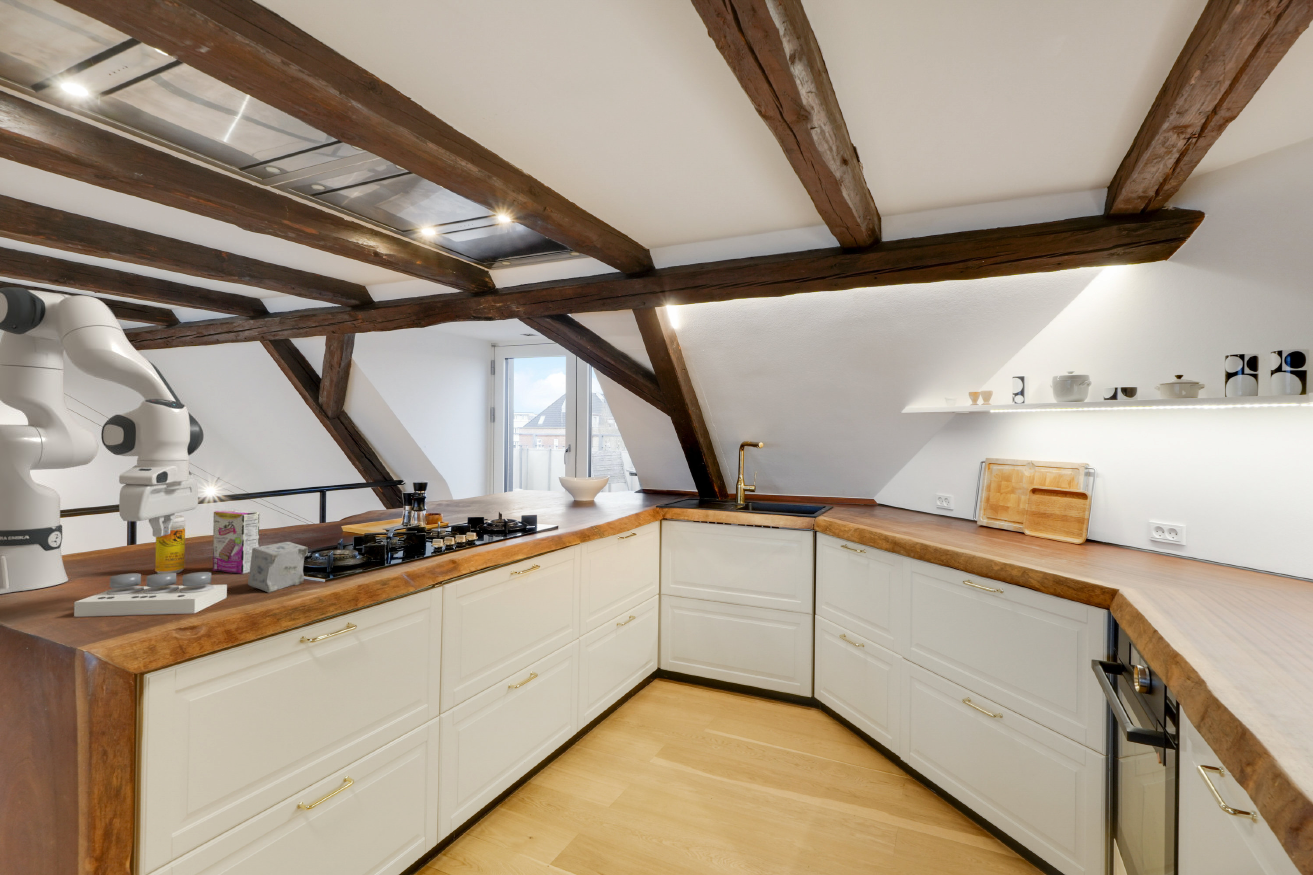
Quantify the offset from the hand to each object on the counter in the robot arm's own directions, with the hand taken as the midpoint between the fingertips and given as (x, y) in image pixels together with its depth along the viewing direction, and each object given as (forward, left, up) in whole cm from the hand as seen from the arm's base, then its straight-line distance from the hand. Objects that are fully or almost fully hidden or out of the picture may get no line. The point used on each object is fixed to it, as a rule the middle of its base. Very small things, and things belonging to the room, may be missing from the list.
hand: (161, 535), depth 129 cm
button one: (+7, 0, -11) cm, 13 cm away
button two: (-7, 0, -11) cm, 13 cm away
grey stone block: (+18, +13, -15) cm, 27 cm away
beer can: (-17, +32, -15) cm, 39 cm away
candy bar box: (-1, +32, -15) cm, 35 cm away
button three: (0, 0, -11) cm, 11 cm away
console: (0, -2, -15) cm, 15 cm away
